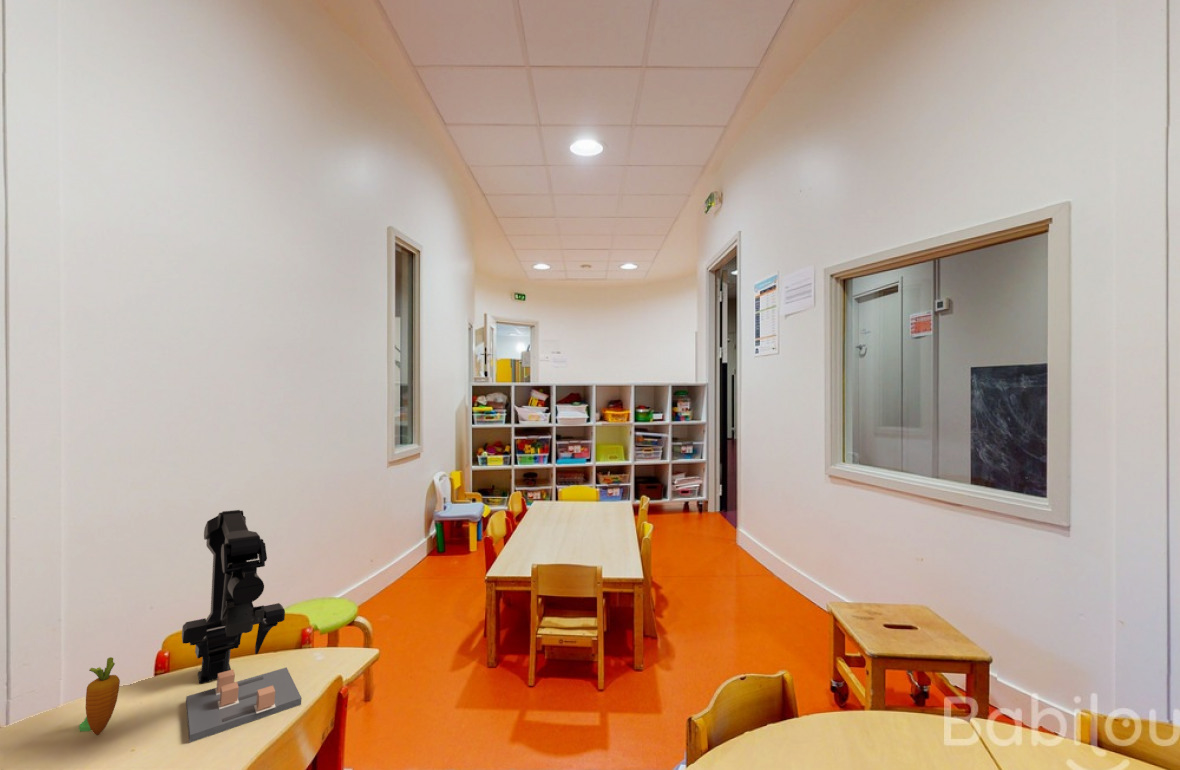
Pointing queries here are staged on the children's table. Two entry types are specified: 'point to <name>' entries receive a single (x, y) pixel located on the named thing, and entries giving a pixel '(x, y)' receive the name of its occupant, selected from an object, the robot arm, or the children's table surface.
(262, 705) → the slider near
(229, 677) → the slider far
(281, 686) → the switch console
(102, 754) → the children's table surface
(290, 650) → the children's table surface
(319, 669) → the children's table surface
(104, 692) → the carrot
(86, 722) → the game piece
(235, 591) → the robot arm
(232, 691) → the slider middle
